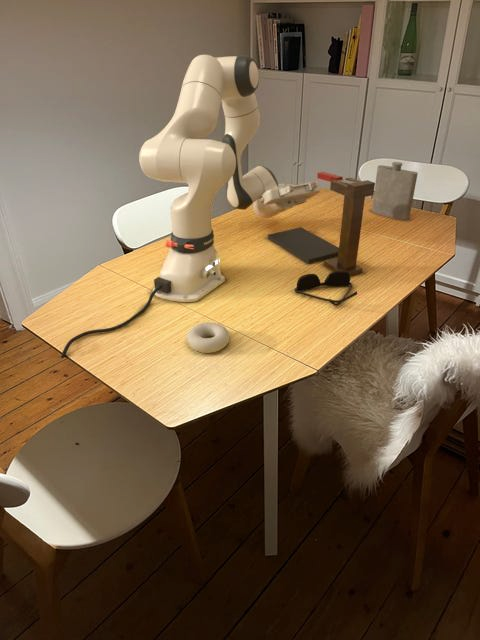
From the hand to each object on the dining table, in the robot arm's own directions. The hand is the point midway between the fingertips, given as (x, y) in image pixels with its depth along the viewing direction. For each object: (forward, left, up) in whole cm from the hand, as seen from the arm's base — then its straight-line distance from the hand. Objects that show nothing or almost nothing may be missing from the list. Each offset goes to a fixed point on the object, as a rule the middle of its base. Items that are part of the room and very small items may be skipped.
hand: (303, 186), depth 148 cm
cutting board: (-1, -2, -20) cm, 20 cm away
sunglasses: (-34, -18, -20) cm, 43 cm away
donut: (-64, +5, -20) cm, 67 cm away
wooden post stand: (-14, -17, -20) cm, 30 cm away
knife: (-11, -13, +6) cm, 18 cm away
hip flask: (+39, -25, -20) cm, 50 cm away
